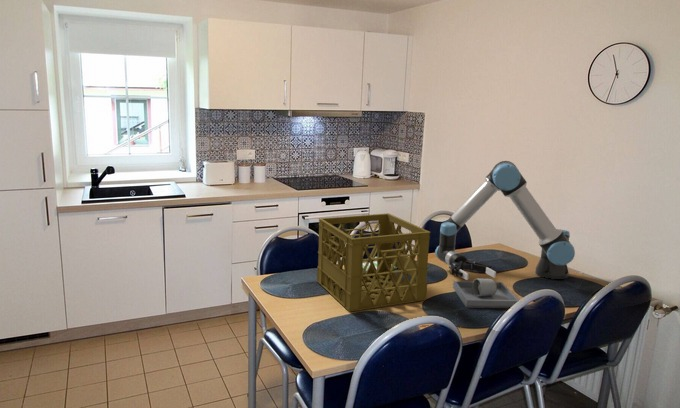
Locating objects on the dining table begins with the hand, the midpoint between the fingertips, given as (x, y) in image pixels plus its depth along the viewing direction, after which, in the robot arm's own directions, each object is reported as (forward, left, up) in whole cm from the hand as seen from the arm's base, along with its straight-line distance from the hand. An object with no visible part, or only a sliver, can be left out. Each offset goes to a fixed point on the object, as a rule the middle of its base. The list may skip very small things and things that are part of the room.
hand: (481, 276), depth 220 cm
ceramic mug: (0, +2, -8) cm, 8 cm away
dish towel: (+41, -38, -9) cm, 56 cm away
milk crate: (+48, -2, -9) cm, 49 cm away
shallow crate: (-1, +3, -9) cm, 9 cm away
